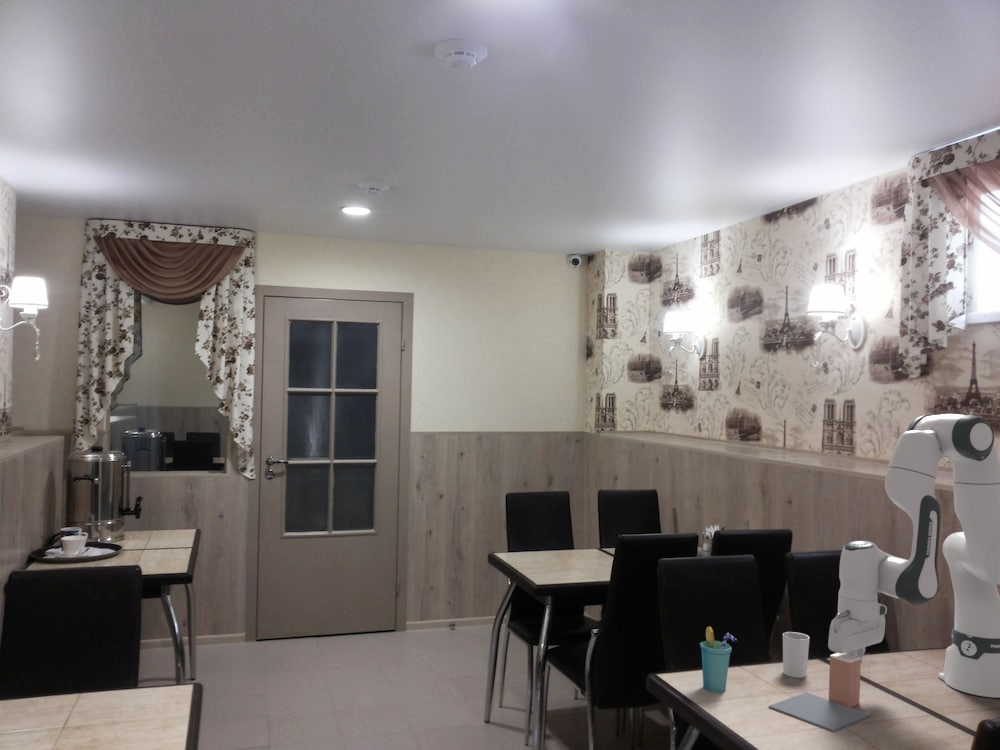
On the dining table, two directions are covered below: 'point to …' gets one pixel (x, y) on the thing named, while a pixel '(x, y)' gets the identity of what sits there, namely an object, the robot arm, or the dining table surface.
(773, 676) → the dining table surface
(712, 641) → the cup
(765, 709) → the dining table surface
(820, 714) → the mat
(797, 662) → the drinking glass
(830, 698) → the block
